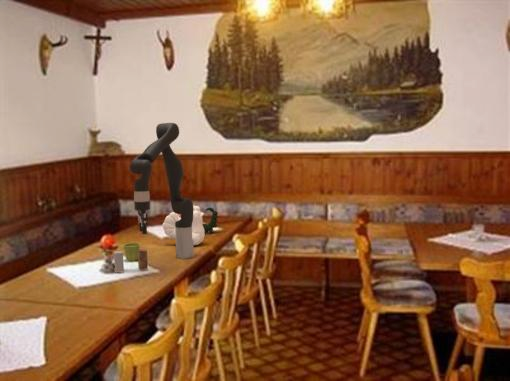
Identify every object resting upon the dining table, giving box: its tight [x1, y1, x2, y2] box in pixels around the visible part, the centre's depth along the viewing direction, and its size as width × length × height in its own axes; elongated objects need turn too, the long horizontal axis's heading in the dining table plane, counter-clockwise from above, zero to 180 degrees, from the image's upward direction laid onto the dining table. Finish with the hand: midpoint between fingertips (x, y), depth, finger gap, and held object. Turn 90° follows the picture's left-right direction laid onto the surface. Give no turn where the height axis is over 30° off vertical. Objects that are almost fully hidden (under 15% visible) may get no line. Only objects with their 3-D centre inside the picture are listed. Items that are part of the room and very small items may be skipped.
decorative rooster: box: [162, 204, 206, 246], centre depth 336 cm, size 25×16×25 cm, turn 80°
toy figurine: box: [202, 207, 219, 235], centre depth 373 cm, size 9×19×25 cm
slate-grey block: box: [113, 250, 125, 273], centre depth 275 cm, size 4×4×10 cm
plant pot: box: [122, 242, 141, 262], centre depth 299 cm, size 9×9×9 cm
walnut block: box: [137, 248, 149, 271], centre depth 280 cm, size 4×4×10 cm
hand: (143, 232), depth 271 cm, fingers open, 8 cm apart
